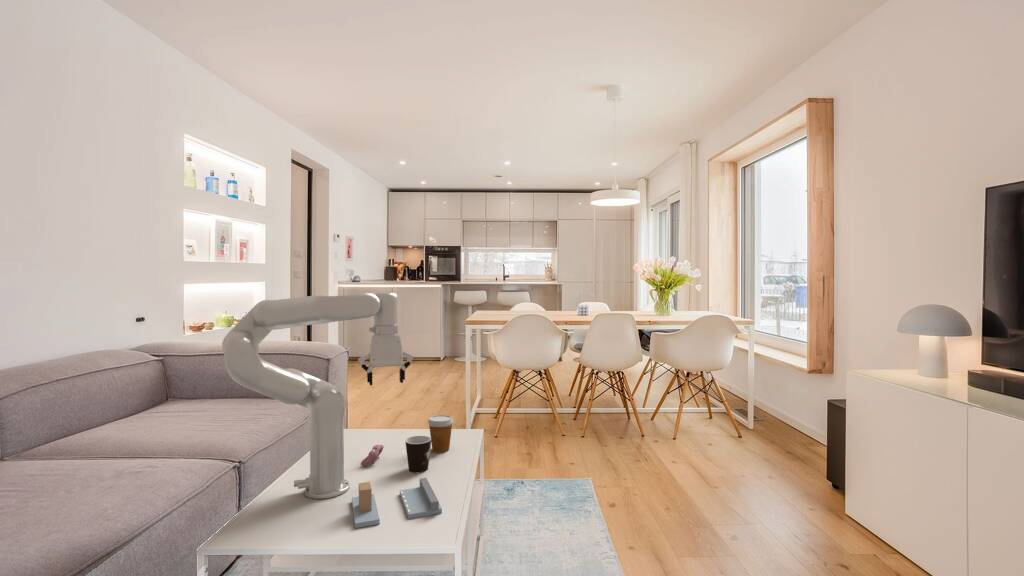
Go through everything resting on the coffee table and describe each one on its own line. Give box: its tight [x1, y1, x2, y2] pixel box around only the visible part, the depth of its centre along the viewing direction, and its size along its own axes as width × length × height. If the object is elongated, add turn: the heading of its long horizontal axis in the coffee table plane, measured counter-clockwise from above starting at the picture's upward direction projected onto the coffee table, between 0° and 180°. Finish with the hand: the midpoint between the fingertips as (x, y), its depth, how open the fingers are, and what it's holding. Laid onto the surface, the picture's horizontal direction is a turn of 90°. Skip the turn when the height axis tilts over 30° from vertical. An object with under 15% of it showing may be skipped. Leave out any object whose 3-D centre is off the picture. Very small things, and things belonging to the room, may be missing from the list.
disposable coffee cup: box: [427, 414, 454, 453], centre depth 180 cm, size 10×10×12 cm
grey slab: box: [351, 481, 380, 529], centre depth 131 cm, size 6×16×7 cm, turn 21°
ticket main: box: [399, 477, 443, 520], centre depth 137 cm, size 9×17×4 cm, turn 21°
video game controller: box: [360, 443, 385, 468], centre depth 168 cm, size 10×5×7 cm, turn 0°
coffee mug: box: [404, 435, 432, 474], centre depth 163 cm, size 12×9×10 cm
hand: (386, 383), depth 155 cm, fingers open, 9 cm apart
